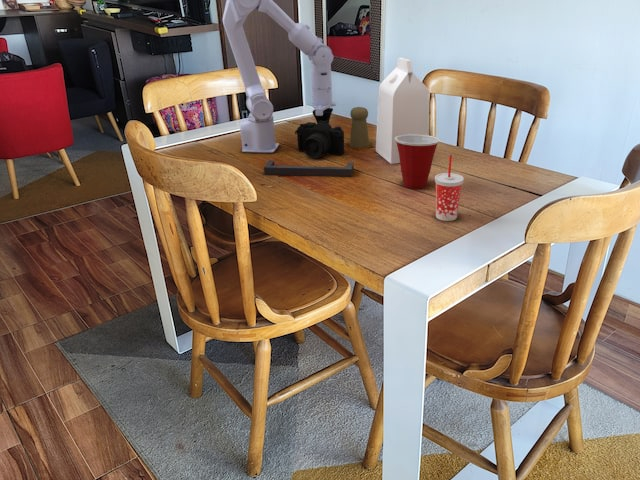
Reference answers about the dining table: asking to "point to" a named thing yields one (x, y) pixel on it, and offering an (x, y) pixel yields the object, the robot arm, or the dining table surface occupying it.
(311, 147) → the film camera
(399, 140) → the plastic cup
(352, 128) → the cork
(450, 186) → the beverage cup
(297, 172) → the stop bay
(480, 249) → the dining table surface
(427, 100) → the milk
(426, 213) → the dining table surface
